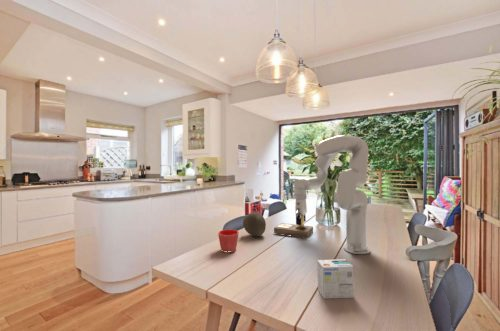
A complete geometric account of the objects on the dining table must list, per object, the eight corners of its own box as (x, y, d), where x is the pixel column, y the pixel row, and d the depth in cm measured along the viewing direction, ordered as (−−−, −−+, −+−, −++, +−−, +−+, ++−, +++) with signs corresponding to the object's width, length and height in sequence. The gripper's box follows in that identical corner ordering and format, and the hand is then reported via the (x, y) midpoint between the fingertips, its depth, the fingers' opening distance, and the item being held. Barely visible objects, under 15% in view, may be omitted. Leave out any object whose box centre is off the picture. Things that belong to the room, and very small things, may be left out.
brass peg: (303, 235, 149) (302, 213, 149) (296, 234, 151) (296, 213, 151) (305, 233, 152) (304, 212, 152) (298, 233, 154) (298, 211, 154)
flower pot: (241, 252, 122) (241, 233, 122) (221, 255, 118) (221, 236, 118) (235, 245, 132) (235, 228, 132) (216, 248, 128) (216, 230, 128)
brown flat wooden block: (307, 238, 142) (307, 231, 142) (274, 233, 153) (273, 227, 153) (313, 232, 155) (312, 226, 155) (281, 228, 165) (281, 222, 165)
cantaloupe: (256, 231, 159) (255, 209, 159) (270, 236, 148) (270, 212, 148) (239, 236, 150) (239, 212, 150) (253, 241, 139) (253, 216, 139)
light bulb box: (346, 287, 85) (345, 258, 85) (354, 298, 78) (354, 266, 78) (316, 288, 84) (316, 259, 85) (323, 299, 78) (322, 267, 78)
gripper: (302, 198, 142) (302, 226, 142) (309, 195, 157) (310, 220, 157) (290, 198, 146) (290, 225, 146) (298, 194, 161) (299, 219, 161)
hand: (300, 223), depth 151 cm, fingers open, 9 cm apart
